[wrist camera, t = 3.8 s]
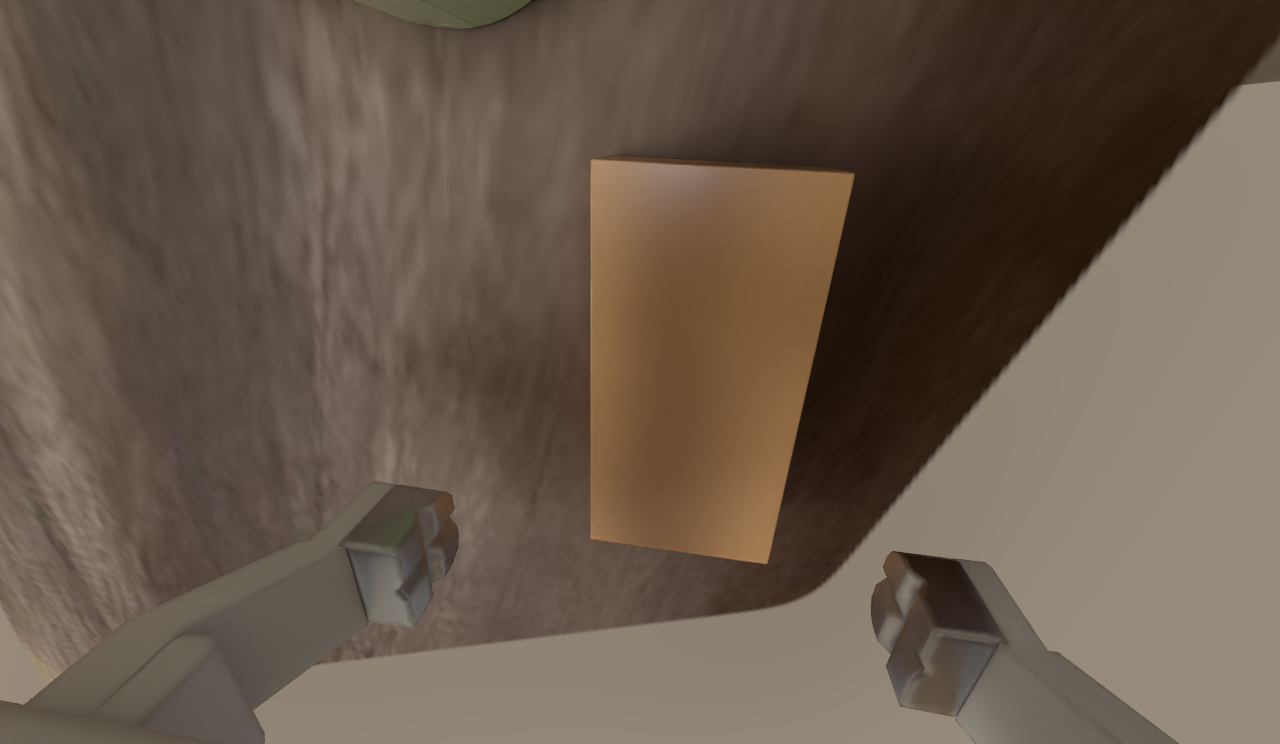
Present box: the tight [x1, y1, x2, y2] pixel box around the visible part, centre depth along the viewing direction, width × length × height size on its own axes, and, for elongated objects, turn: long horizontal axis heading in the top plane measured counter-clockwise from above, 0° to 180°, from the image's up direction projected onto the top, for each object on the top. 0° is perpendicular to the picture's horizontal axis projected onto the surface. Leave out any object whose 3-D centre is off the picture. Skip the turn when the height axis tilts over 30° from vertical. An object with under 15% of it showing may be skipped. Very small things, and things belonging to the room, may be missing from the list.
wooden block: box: [591, 155, 855, 564], centre depth 16 cm, size 6×13×3 cm, turn 177°
